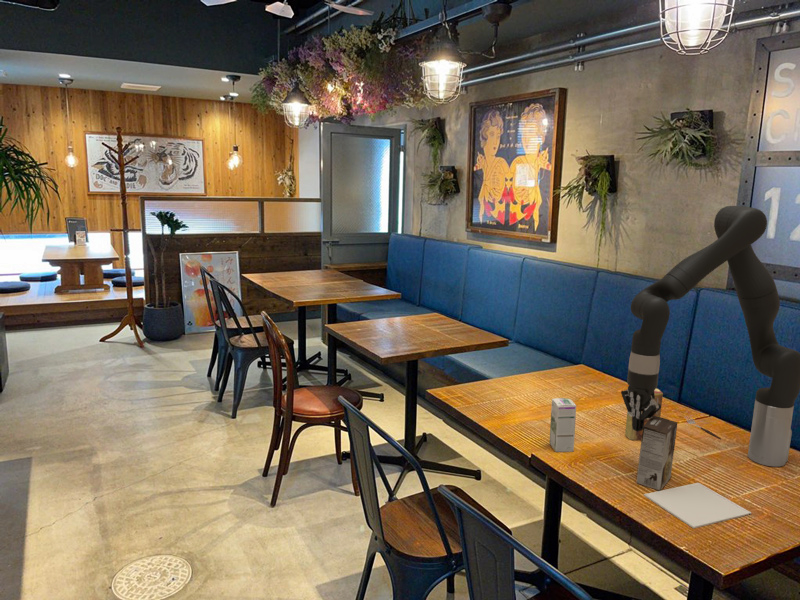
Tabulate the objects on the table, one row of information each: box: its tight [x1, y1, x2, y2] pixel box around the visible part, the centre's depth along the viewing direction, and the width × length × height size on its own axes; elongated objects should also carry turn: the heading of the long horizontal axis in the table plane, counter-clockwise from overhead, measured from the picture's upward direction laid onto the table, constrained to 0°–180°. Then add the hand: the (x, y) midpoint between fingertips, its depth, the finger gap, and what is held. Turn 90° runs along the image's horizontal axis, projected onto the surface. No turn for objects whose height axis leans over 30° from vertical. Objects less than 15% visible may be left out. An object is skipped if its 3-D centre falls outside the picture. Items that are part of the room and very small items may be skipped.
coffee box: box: [636, 416, 679, 491], centre depth 158 cm, size 9×6×16 cm
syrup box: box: [549, 397, 577, 453], centre depth 177 cm, size 6×6×14 cm
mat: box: [643, 482, 752, 529], centre depth 148 cm, size 18×16×1 cm
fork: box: [684, 415, 722, 440], centre depth 193 cm, size 3×16×2 cm, turn 12°
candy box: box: [624, 388, 664, 441], centre depth 185 cm, size 9×4×15 cm, turn 92°
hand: (637, 430), depth 164 cm, fingers closed
